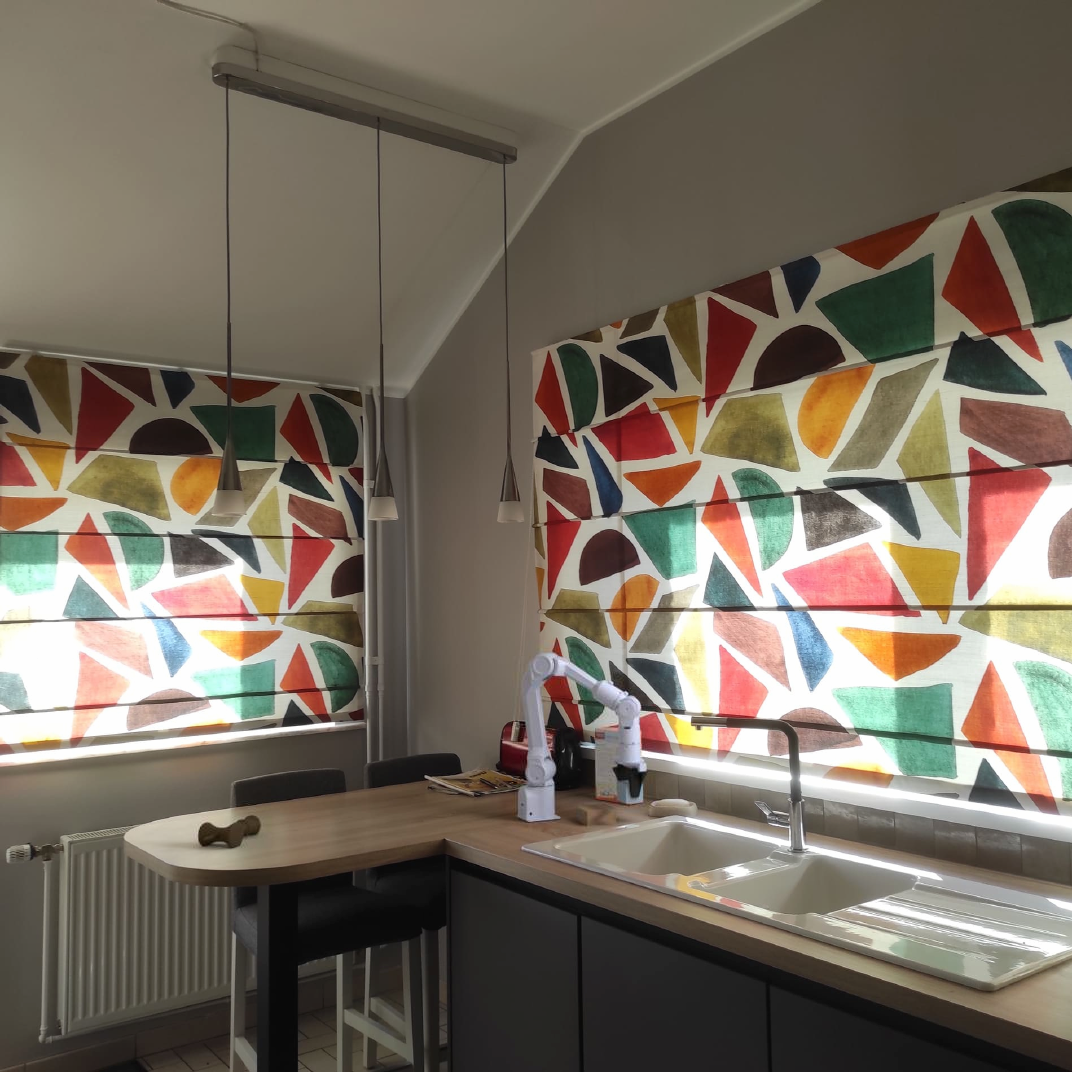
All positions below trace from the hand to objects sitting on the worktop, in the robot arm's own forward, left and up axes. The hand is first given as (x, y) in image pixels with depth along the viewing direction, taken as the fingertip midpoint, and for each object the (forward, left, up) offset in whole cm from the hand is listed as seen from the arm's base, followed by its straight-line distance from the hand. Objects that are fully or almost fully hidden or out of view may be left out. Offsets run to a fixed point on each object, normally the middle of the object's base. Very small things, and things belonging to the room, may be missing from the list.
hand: (629, 795), depth 259 cm
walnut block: (-8, +4, -7) cm, 11 cm away
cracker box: (+11, +27, -7) cm, 30 cm away
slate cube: (0, 0, -2) cm, 2 cm away
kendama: (-98, +22, -7) cm, 101 cm away
